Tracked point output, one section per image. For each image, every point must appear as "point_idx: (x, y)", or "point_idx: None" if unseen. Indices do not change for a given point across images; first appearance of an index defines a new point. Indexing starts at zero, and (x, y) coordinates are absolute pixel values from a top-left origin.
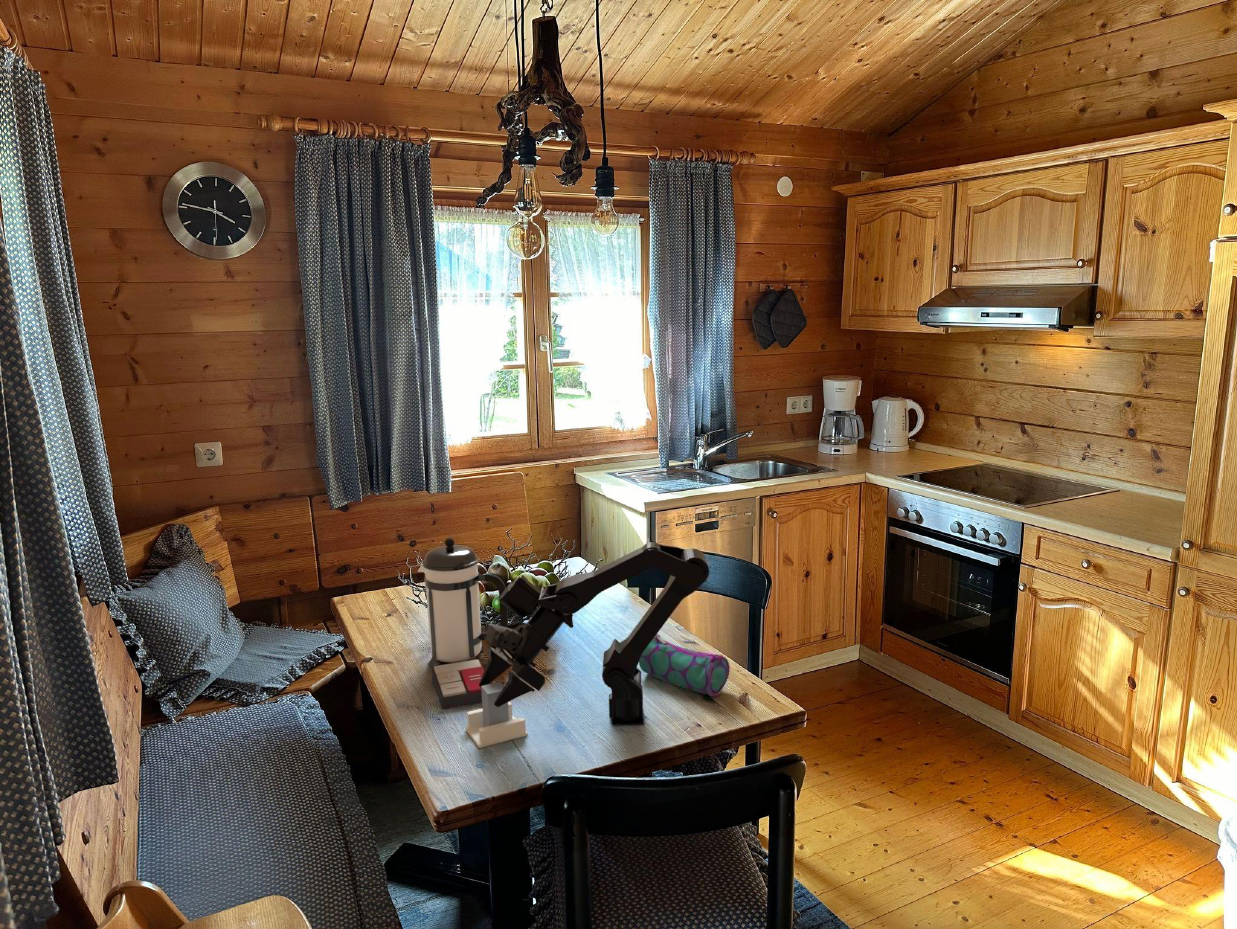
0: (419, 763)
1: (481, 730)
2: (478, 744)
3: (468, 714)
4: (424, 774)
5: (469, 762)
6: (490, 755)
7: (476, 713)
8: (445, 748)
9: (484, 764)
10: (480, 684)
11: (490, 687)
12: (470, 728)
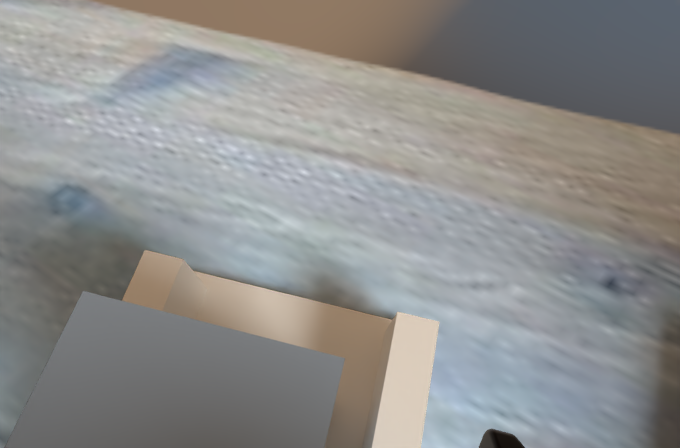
0: (287, 54)
1: (150, 257)
2: (200, 275)
3: (403, 313)
4: (205, 34)
5: (130, 181)
6: (92, 281)
7: (386, 369)
8: (316, 168)
9: (56, 218)
10: (489, 445)
11: (210, 436)
12: (382, 337)
